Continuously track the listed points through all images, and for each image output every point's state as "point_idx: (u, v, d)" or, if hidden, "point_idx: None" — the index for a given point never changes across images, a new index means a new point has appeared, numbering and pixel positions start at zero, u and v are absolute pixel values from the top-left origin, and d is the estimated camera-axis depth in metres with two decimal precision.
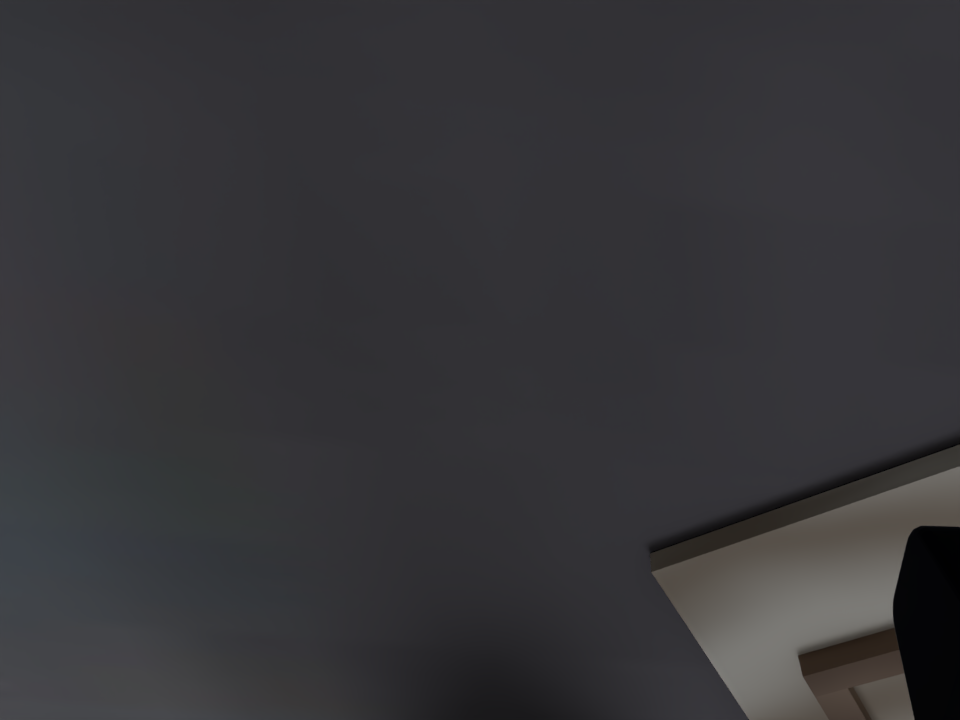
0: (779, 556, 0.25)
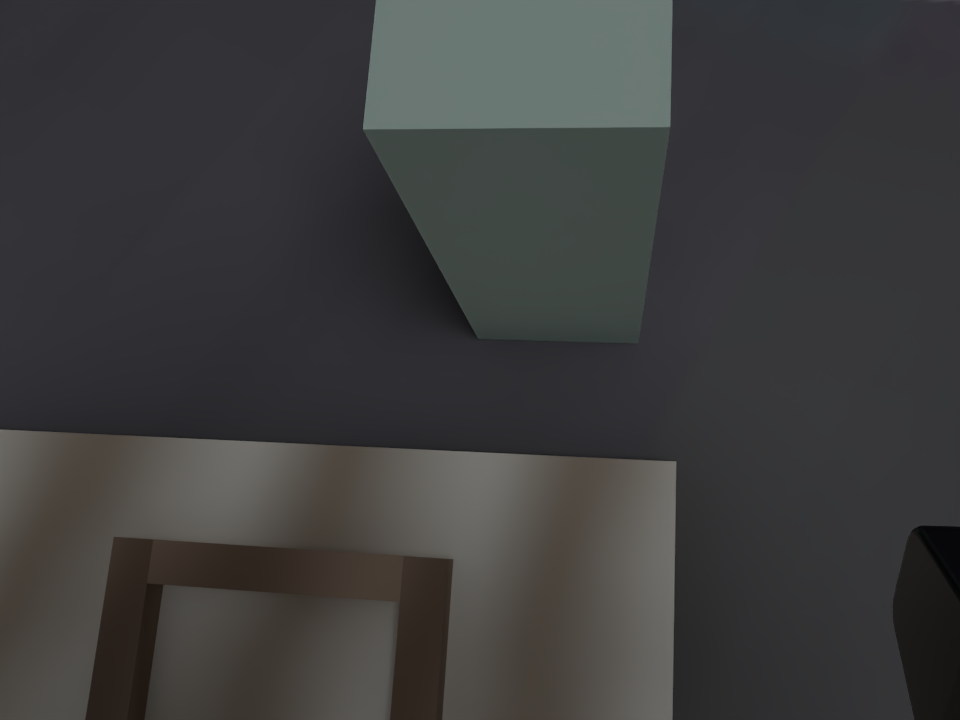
0: None
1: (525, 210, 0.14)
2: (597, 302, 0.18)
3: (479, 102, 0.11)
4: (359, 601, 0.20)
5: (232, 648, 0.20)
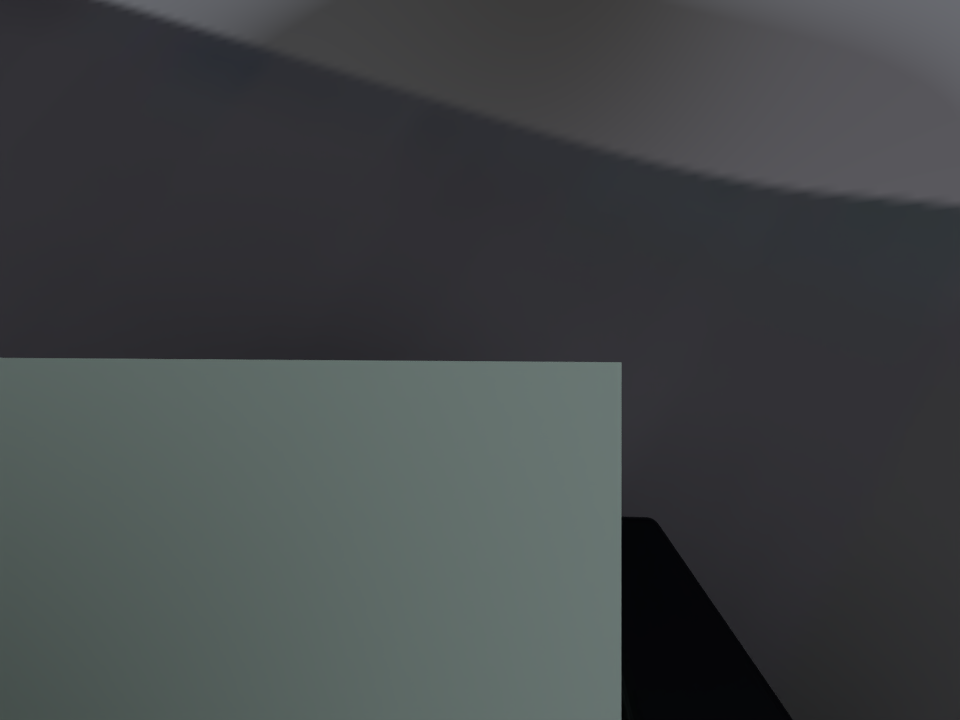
0: None
1: None
2: None
3: None
4: None
5: None
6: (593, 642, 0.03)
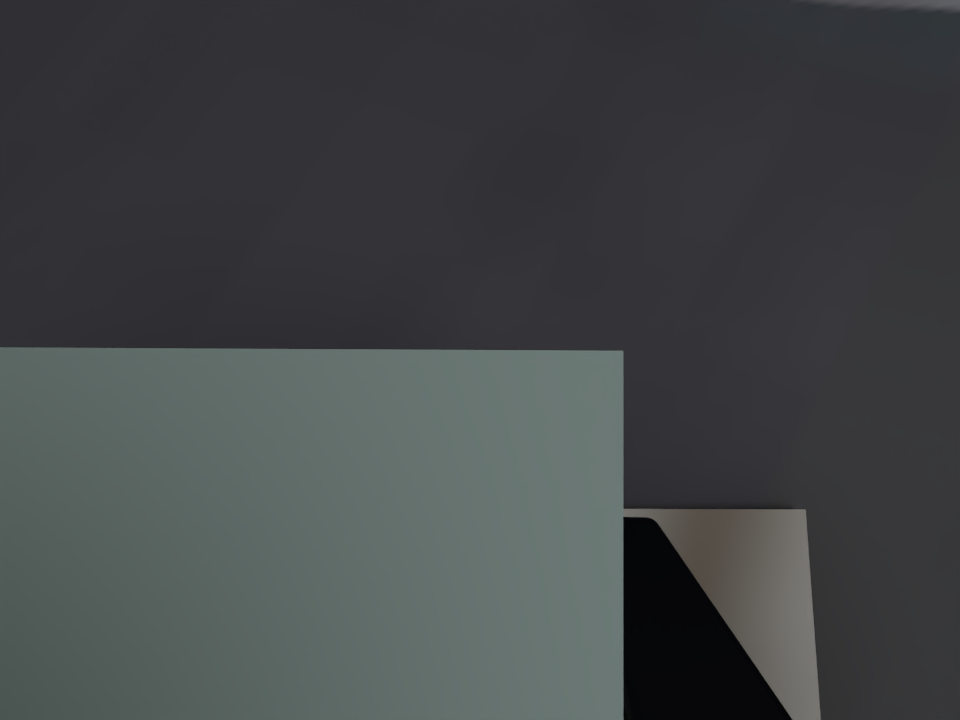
0: None
1: None
2: None
3: None
4: None
5: None
6: (596, 631, 0.03)
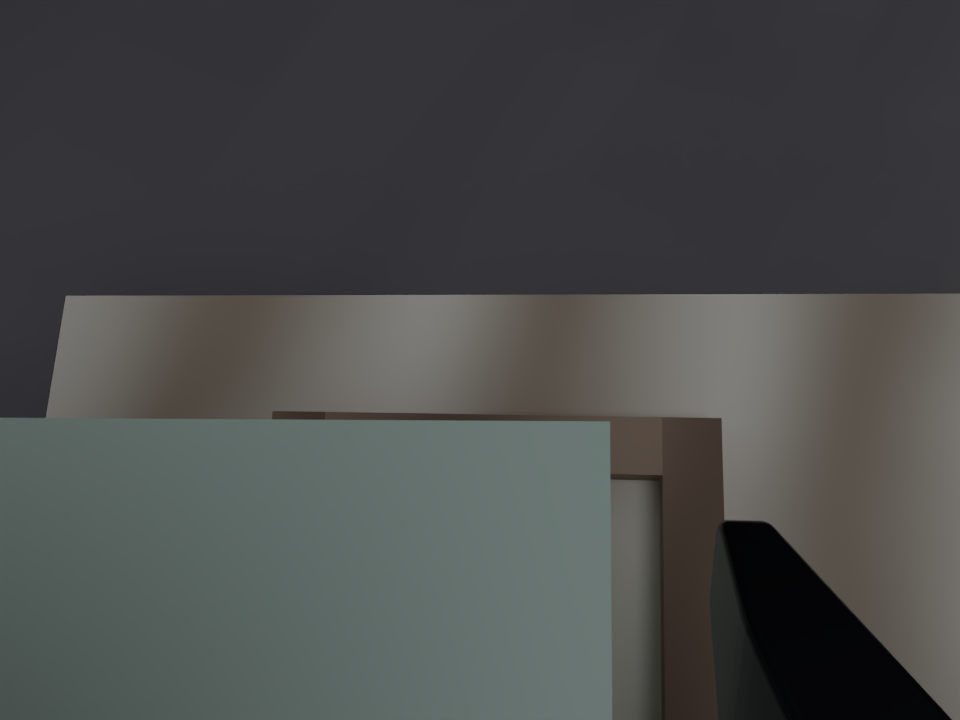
0: None
1: None
2: None
3: None
4: None
5: None
6: (591, 622, 0.05)
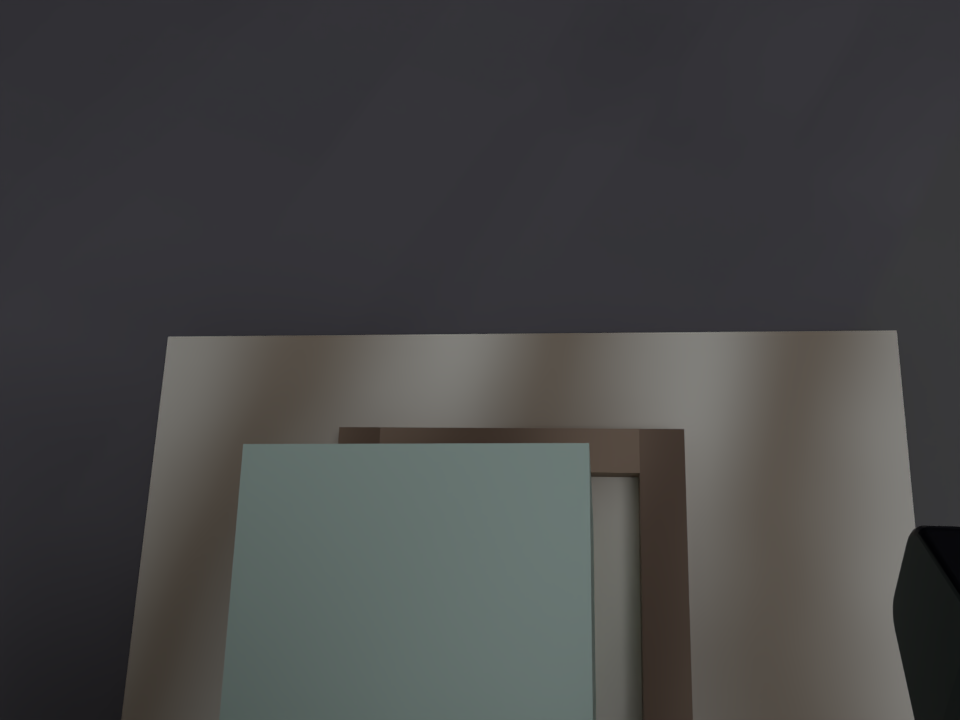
0: None
1: None
2: None
3: None
4: None
5: None
6: (580, 544, 0.09)
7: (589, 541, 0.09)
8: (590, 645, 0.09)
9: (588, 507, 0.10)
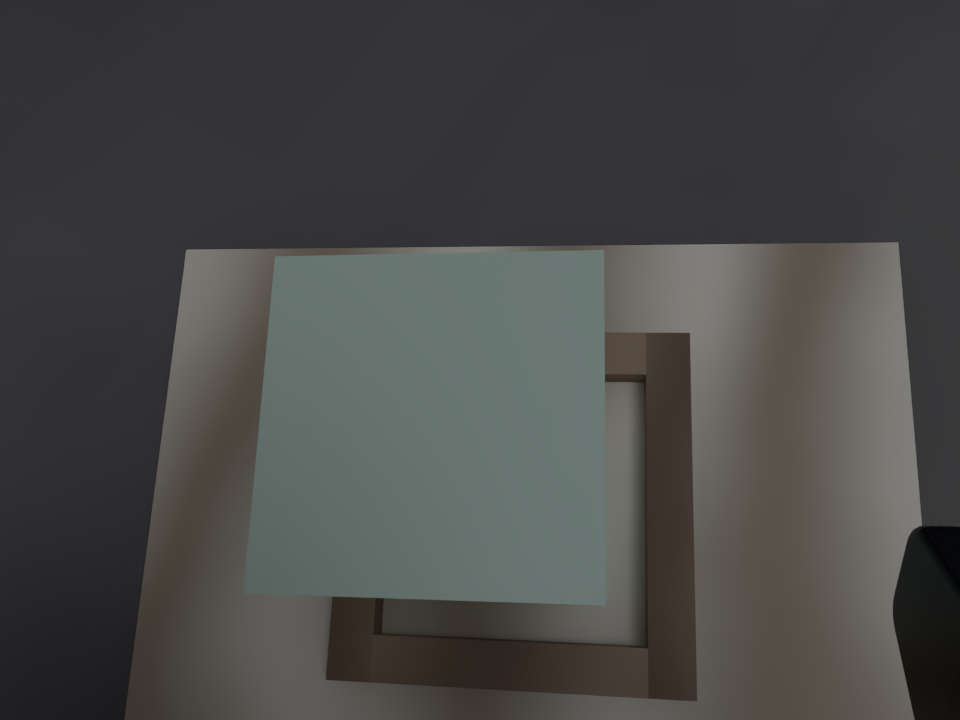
0: (177, 620, 0.21)
1: None
2: None
3: (380, 562, 0.10)
4: None
5: None
6: (595, 340, 0.10)
7: (603, 338, 0.10)
8: (604, 431, 0.10)
9: (603, 307, 0.10)
